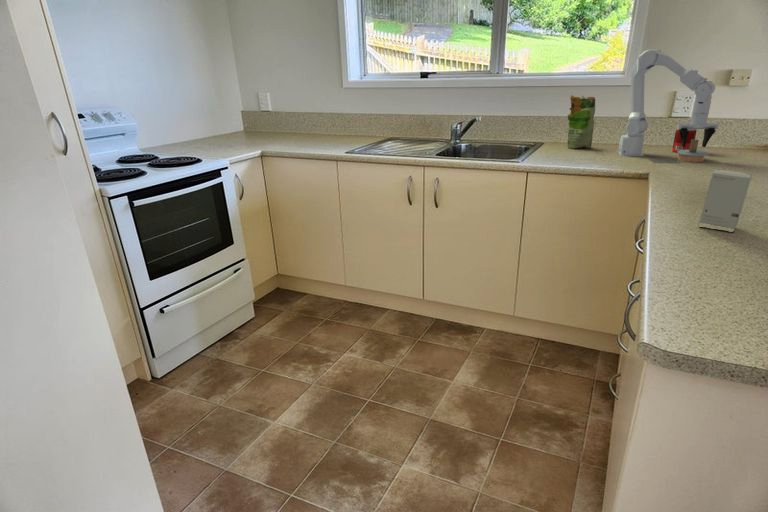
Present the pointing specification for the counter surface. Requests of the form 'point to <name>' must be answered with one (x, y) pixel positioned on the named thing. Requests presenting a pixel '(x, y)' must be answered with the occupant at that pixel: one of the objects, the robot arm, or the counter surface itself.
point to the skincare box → (725, 198)
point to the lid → (693, 150)
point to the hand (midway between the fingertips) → (693, 146)
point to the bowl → (691, 158)
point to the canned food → (678, 143)
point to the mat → (663, 160)
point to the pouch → (581, 122)
